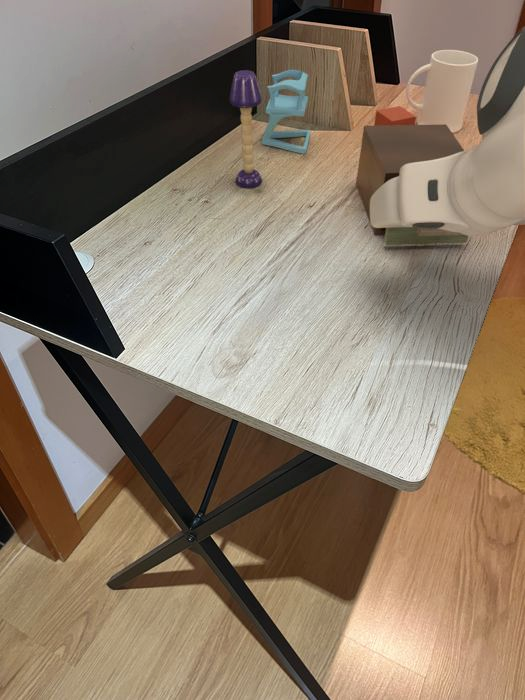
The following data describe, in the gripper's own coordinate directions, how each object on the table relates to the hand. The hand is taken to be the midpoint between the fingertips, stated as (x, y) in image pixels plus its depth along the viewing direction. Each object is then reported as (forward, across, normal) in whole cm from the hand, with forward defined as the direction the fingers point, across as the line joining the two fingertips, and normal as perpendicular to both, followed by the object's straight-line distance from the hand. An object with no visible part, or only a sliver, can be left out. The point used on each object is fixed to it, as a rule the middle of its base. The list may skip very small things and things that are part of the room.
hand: (435, 221), depth 74 cm
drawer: (+8, 0, -1) cm, 8 cm away
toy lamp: (+20, +24, -11) cm, 33 cm away
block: (+29, -3, -21) cm, 36 cm away
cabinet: (+13, 0, -5) cm, 14 cm away
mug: (+34, -13, -26) cm, 44 cm away
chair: (+30, +16, -21) cm, 39 cm away
